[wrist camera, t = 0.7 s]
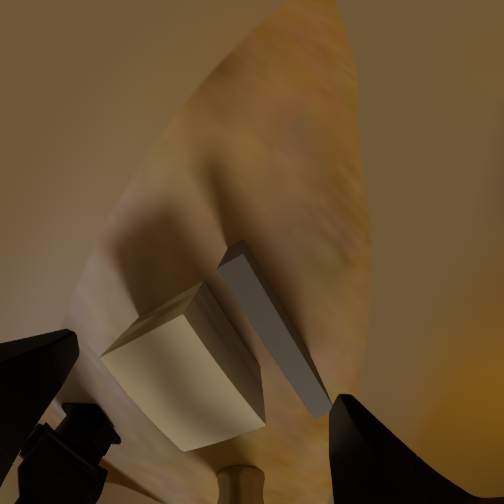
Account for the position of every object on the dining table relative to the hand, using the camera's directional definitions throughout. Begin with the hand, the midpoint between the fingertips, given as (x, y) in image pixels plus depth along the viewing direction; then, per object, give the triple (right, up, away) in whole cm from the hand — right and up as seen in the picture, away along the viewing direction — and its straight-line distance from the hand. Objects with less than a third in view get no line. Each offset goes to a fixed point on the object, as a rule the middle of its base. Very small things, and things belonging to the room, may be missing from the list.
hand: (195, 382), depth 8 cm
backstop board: (+3, -1, +15) cm, 15 cm away
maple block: (-3, -4, +15) cm, 16 cm away
